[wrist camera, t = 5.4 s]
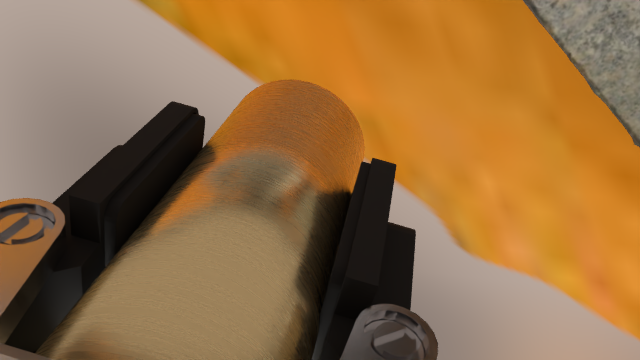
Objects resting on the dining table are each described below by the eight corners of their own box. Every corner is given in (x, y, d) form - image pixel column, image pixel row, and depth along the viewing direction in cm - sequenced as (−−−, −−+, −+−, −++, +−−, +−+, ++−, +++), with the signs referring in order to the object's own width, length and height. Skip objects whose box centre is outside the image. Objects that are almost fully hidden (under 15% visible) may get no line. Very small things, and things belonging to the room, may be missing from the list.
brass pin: (380, 102, 13) (294, 449, 5) (345, 218, 15) (246, 592, 7) (238, 63, 13) (-38, 344, 6) (223, 182, 15) (2, 511, 8)
